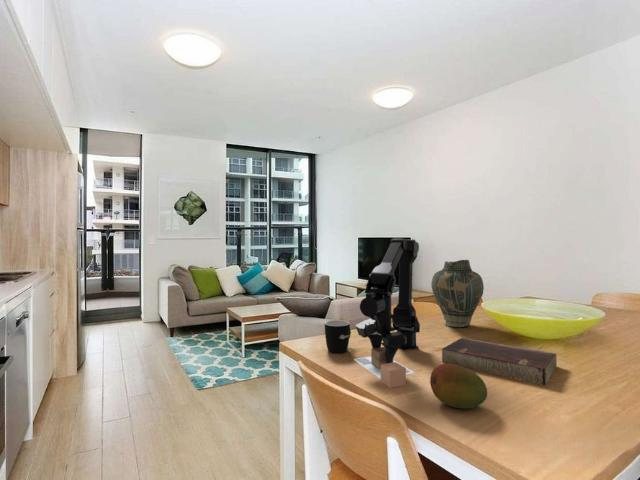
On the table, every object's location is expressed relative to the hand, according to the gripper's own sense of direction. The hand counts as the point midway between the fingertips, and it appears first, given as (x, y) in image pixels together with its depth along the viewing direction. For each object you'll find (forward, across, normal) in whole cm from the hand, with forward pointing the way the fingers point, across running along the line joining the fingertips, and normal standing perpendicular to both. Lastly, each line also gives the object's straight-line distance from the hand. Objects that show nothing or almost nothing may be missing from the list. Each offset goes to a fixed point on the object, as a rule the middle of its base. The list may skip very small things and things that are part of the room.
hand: (382, 359), depth 117 cm
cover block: (+2, +13, -4) cm, 14 cm away
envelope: (+2, 0, 0) cm, 2 cm away
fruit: (+2, +30, +4) cm, 30 cm away
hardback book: (+3, +12, +35) cm, 37 cm away
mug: (+2, -20, -6) cm, 21 cm away
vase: (+2, -33, +57) cm, 66 cm away
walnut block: (+2, 0, 0) cm, 2 cm away
